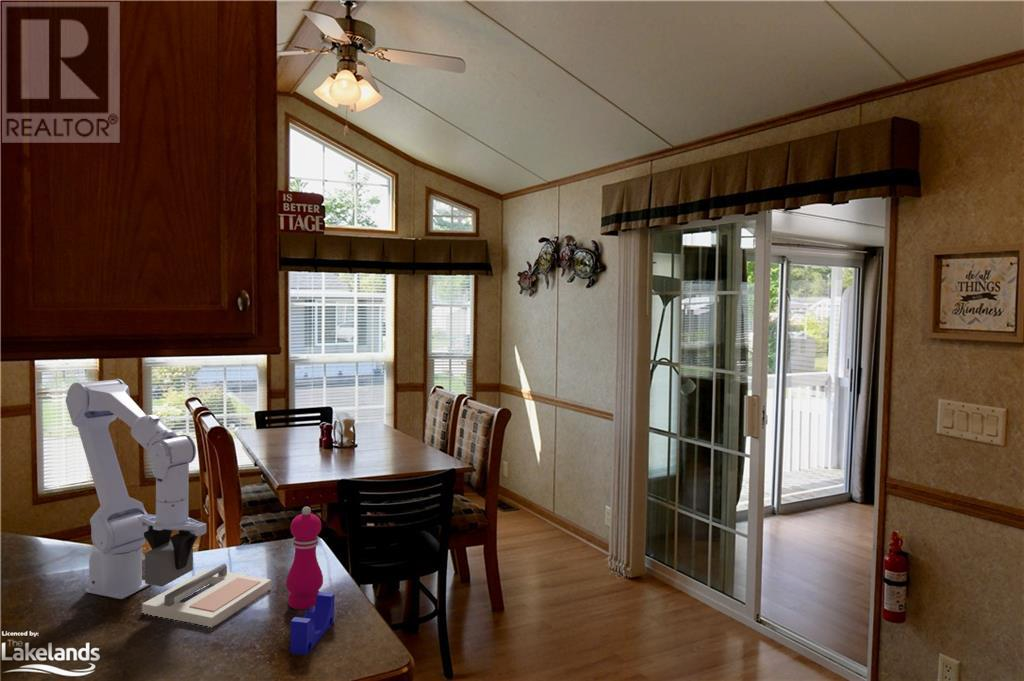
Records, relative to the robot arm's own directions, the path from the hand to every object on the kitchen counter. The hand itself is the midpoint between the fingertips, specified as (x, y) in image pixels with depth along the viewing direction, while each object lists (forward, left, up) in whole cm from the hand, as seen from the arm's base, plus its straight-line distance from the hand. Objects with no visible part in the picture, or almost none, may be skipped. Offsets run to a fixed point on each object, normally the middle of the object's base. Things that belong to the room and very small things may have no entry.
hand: (171, 565), depth 132 cm
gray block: (0, 0, -2) cm, 2 cm away
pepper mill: (+23, +11, -9) cm, 27 cm away
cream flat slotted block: (+5, +5, -8) cm, 11 cm away
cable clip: (+31, 0, -9) cm, 33 cm away
